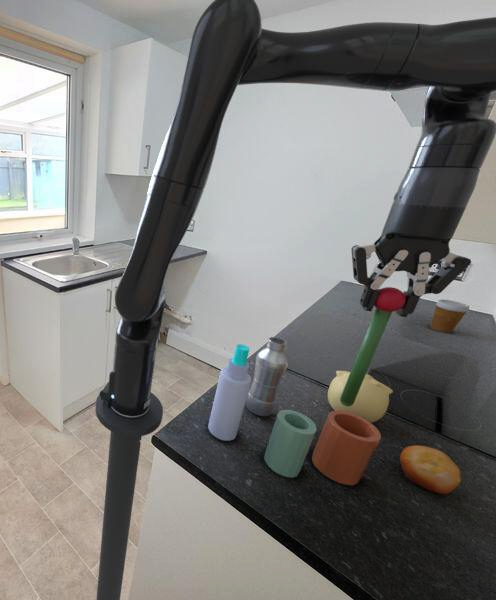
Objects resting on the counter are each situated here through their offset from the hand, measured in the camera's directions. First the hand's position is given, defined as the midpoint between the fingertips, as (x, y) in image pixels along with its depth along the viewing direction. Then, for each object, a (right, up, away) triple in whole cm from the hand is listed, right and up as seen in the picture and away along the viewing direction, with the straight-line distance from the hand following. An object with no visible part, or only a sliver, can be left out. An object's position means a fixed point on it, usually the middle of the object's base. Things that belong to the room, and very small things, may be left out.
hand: (383, 311), depth 51 cm
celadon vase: (-9, -32, +13) cm, 35 cm away
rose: (-1, -18, +7) cm, 19 cm away
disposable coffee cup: (+99, -11, +81) cm, 128 cm away
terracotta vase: (+2, -32, +12) cm, 35 cm away
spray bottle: (-18, -28, +20) cm, 39 cm away
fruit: (+17, -34, +11) cm, 39 cm away
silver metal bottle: (-6, -26, +27) cm, 38 cm away
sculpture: (+18, -27, +28) cm, 43 cm away
